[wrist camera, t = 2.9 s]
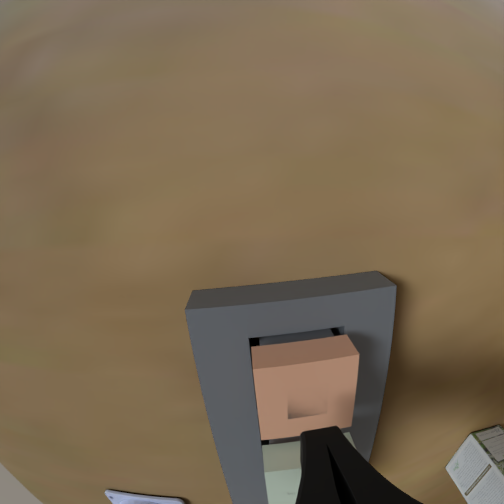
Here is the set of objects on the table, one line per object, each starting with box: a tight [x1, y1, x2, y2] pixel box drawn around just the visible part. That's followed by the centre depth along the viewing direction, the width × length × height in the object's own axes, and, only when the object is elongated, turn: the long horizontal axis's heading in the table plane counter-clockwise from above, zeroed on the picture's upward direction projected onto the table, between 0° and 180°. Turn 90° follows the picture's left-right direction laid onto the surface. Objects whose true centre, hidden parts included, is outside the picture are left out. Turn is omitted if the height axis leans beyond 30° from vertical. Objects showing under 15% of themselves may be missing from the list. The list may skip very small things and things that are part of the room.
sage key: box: [262, 432, 356, 504], centre depth 14 cm, size 4×4×5 cm
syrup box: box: [445, 425, 504, 504], centre depth 15 cm, size 6×6×14 cm
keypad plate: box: [185, 271, 397, 504], centre depth 17 cm, size 18×10×2 cm, turn 5°
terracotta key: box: [251, 328, 359, 440], centre depth 15 cm, size 4×4×5 cm
